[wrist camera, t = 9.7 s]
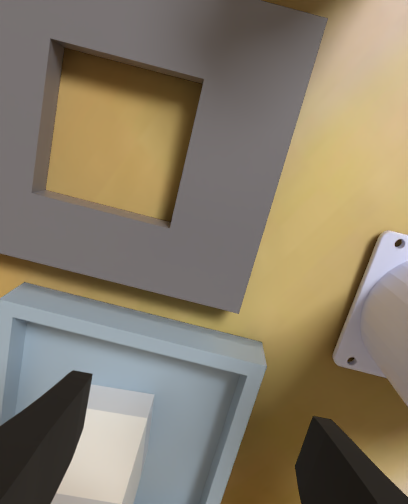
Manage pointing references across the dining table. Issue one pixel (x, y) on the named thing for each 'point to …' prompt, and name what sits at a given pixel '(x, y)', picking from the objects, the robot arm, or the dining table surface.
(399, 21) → the dining table surface
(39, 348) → the parts tray
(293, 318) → the dining table surface
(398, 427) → the dining table surface
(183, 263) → the block
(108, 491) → the block
